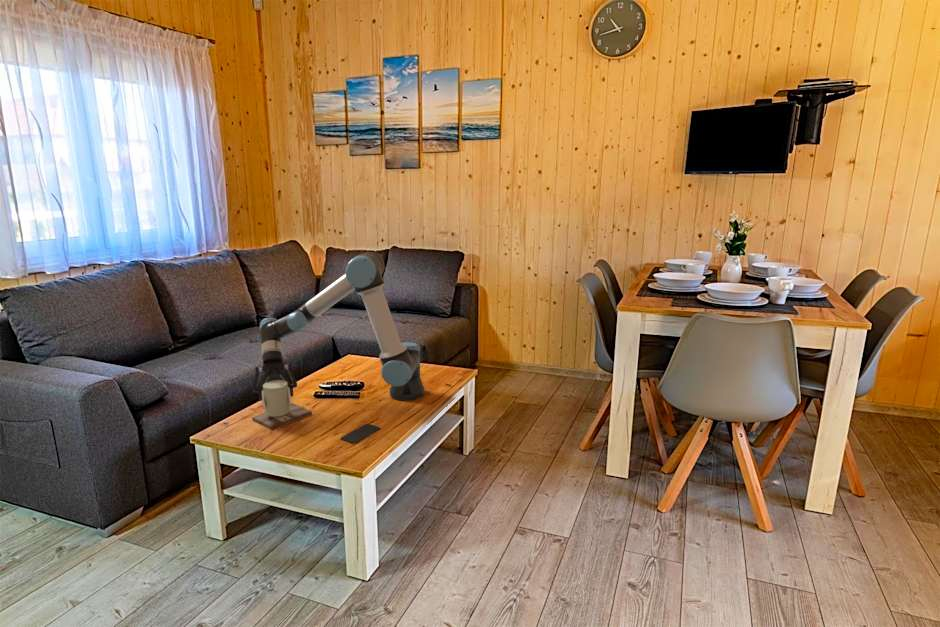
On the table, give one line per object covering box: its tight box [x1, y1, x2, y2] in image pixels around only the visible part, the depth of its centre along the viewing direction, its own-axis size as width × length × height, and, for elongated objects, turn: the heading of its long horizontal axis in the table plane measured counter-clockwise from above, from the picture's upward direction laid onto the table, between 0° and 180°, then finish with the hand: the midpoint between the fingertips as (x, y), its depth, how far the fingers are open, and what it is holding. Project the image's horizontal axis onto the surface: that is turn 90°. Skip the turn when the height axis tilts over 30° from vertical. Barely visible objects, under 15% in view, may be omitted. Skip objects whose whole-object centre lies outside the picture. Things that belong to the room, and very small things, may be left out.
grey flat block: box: [251, 402, 313, 430], centre depth 219 cm, size 13×18×2 cm
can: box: [263, 379, 290, 417], centre depth 215 cm, size 9×9×12 cm
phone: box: [340, 423, 381, 444], centre depth 205 cm, size 7×1×15 cm
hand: (277, 405), depth 213 cm, fingers closed on can, 9 cm apart
